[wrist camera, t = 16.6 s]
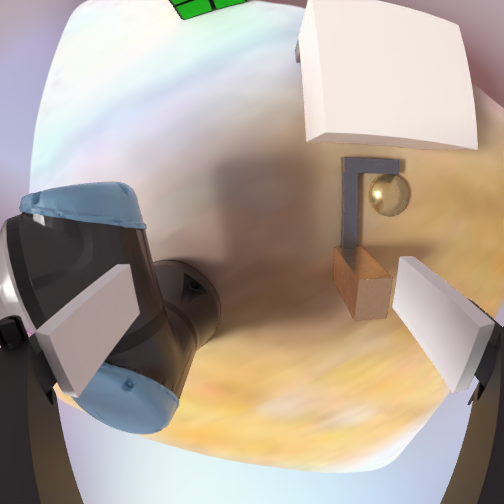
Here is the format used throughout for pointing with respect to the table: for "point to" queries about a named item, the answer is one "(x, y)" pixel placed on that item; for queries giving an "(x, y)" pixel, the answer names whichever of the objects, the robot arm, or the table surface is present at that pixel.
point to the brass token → (388, 195)
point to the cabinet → (384, 77)
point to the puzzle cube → (200, 6)
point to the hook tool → (360, 248)
